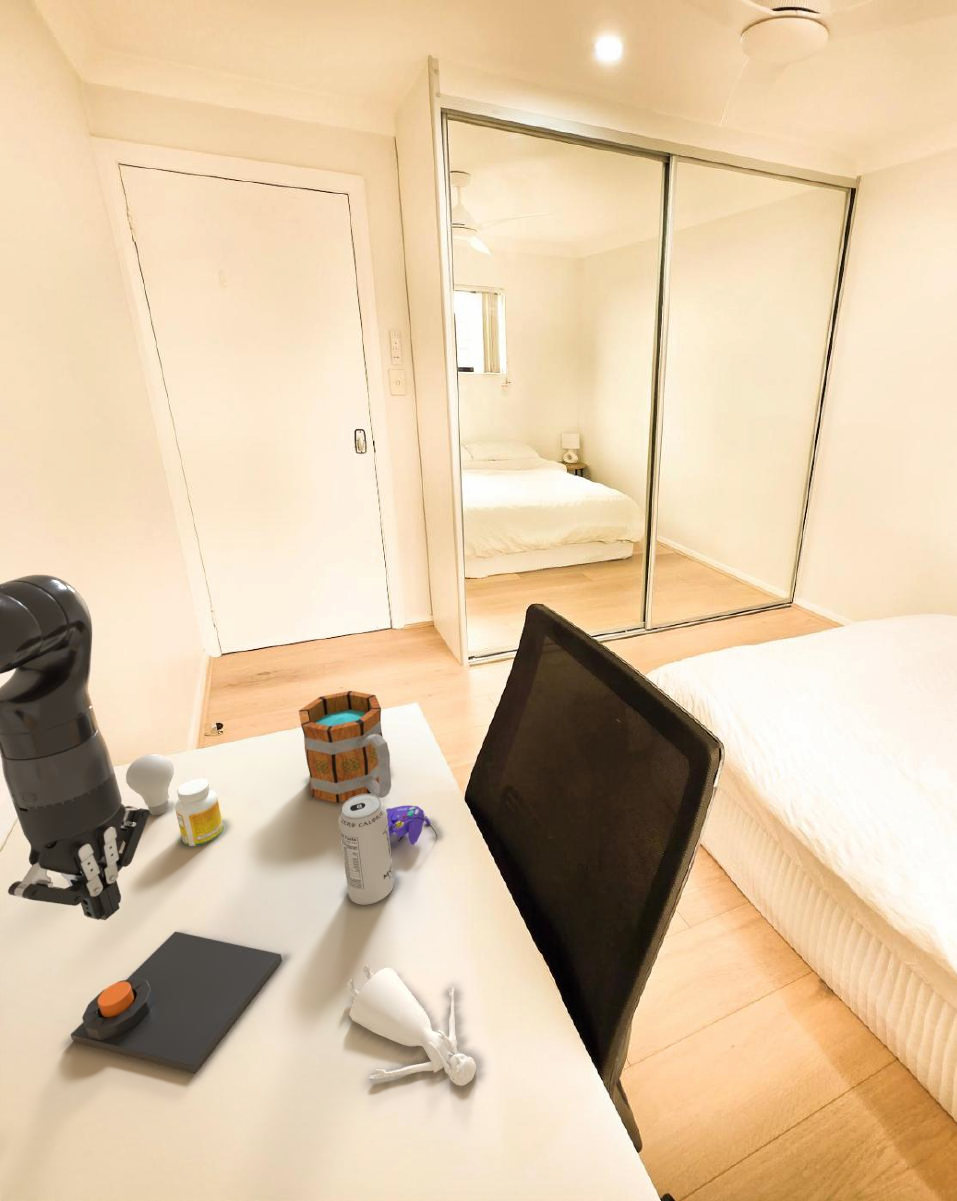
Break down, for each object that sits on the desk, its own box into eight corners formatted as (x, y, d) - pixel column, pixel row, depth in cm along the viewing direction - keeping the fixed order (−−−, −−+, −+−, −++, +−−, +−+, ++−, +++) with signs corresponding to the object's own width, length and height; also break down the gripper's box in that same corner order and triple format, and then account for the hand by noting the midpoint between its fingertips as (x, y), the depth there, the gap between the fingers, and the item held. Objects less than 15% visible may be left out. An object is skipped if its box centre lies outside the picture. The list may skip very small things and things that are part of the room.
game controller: (346, 843, 87) (378, 790, 95) (372, 877, 91) (401, 824, 99) (403, 838, 84) (431, 784, 93) (427, 874, 88) (452, 819, 96)
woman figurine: (397, 929, 73) (510, 1015, 64) (398, 954, 74) (508, 1042, 66) (310, 1007, 63) (429, 1120, 55) (313, 1034, 65) (430, 1148, 57)
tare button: (94, 1014, 63) (90, 1003, 62) (119, 990, 66) (115, 979, 65) (116, 1020, 63) (112, 1008, 62) (140, 995, 65) (137, 984, 65)
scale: (74, 1047, 63) (65, 1024, 62) (178, 942, 75) (172, 921, 74) (196, 1078, 60) (189, 1055, 59) (283, 965, 73) (279, 944, 71)
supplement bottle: (175, 849, 90) (162, 797, 86) (198, 825, 95) (186, 774, 91) (211, 850, 90) (198, 798, 86) (232, 826, 95) (221, 776, 92)
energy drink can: (398, 899, 82) (389, 811, 77) (353, 916, 79) (340, 826, 74) (389, 870, 87) (380, 785, 82) (346, 885, 84) (333, 799, 79)
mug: (293, 785, 105) (281, 711, 100) (362, 752, 115) (354, 683, 110) (354, 835, 94) (343, 755, 89) (424, 794, 104) (419, 719, 99)
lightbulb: (174, 797, 101) (160, 742, 97) (189, 812, 97) (176, 755, 94) (131, 816, 96) (115, 759, 92) (146, 832, 93) (130, 773, 89)
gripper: (98, 737, 64) (133, 862, 70) (-49, 816, 52) (8, 960, 58) (156, 747, 63) (187, 874, 69) (19, 831, 51) (70, 977, 57)
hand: (105, 913), depth 63 cm, fingers closed
